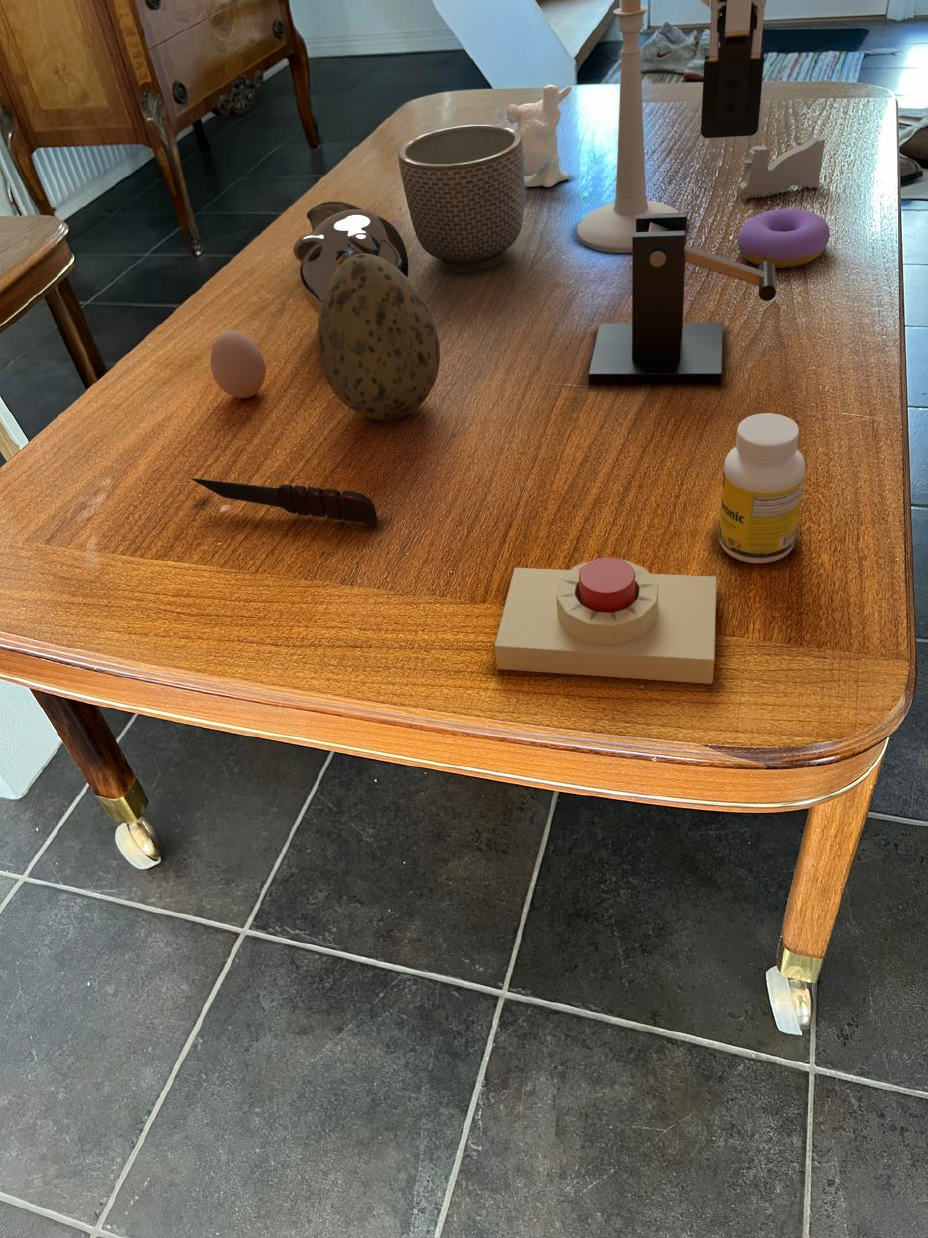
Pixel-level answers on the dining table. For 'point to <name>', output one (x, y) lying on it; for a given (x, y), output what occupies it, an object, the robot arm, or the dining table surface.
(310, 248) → the piggy bank
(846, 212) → the dining table surface
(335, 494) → the knife
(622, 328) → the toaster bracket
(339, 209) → the seashell
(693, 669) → the power block
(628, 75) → the candlestick
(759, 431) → the supplement bottle
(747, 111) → the robot arm
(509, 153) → the planter
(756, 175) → the grey flat notched piece
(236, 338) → the egg
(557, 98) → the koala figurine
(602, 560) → the button
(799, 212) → the donut
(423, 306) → the decorative egg
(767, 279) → the lever
